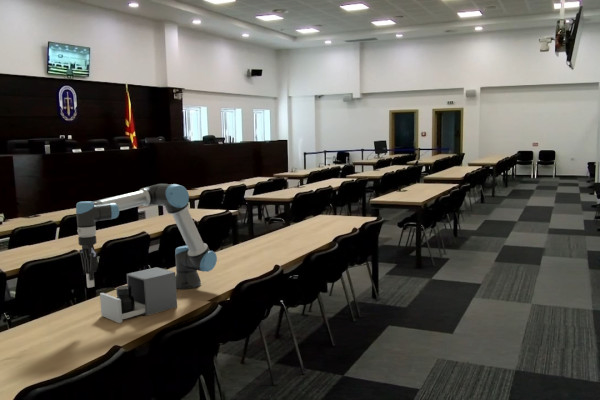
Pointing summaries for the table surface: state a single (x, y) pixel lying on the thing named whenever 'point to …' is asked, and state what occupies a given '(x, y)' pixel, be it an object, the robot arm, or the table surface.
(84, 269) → the robot arm
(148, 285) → the cubby
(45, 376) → the table surface
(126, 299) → the ink bottle
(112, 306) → the light grey drawer
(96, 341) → the table surface
